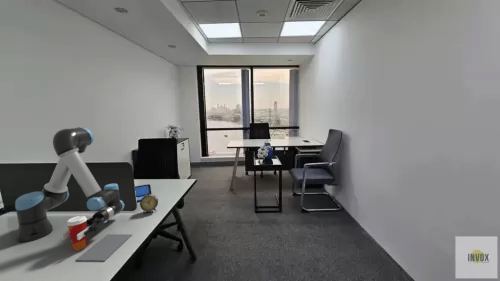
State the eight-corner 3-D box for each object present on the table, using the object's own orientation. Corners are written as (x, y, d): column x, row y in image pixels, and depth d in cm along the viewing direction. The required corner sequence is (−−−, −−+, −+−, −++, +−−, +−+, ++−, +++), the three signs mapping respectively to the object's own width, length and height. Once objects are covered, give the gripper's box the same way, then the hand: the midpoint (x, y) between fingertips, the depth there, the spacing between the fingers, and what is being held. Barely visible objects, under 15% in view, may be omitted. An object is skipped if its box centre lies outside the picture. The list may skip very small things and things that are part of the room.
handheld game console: (131, 204, 170) (130, 192, 169) (130, 198, 181) (128, 187, 180) (153, 199, 178) (152, 188, 177) (151, 194, 189) (150, 183, 188)
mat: (75, 261, 104) (75, 260, 104) (107, 235, 126) (107, 234, 126) (104, 261, 103) (104, 260, 103) (132, 235, 125) (132, 234, 125)
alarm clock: (140, 213, 152) (138, 190, 150) (143, 210, 157) (141, 188, 155) (157, 212, 153) (155, 189, 151) (159, 209, 159) (157, 186, 157)
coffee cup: (78, 242, 120) (75, 215, 118) (93, 242, 120) (90, 215, 118) (65, 251, 112) (61, 223, 110) (81, 251, 111) (78, 222, 109)
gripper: (120, 221, 132) (90, 244, 110) (87, 221, 133) (51, 244, 111) (119, 209, 131) (88, 230, 109) (86, 209, 132) (49, 230, 110)
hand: (70, 237), depth 110 cm, fingers closed on coffee cup, 7 cm apart
